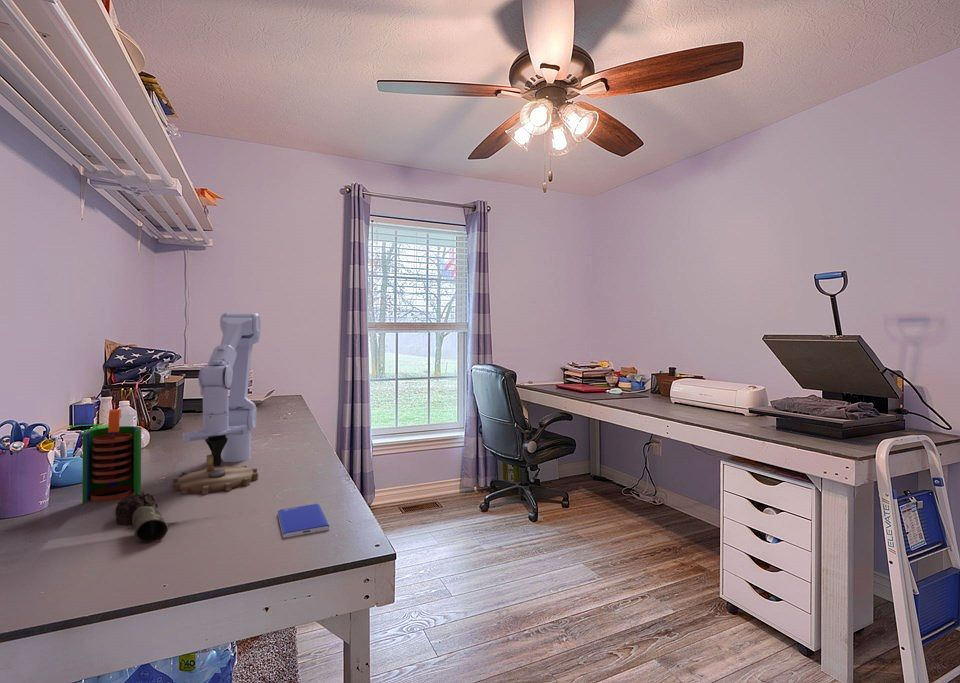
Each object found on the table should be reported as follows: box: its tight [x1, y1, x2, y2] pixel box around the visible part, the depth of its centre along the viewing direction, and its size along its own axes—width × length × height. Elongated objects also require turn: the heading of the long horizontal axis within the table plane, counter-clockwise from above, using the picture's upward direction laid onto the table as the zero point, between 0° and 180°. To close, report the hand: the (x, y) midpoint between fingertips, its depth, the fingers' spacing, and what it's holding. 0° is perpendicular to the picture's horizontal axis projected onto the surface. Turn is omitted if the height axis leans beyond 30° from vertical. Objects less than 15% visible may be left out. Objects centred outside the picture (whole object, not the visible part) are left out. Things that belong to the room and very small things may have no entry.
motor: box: [81, 408, 142, 506], centre depth 102 cm, size 10×9×20 cm
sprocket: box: [171, 454, 259, 495], centre depth 112 cm, size 18×18×6 cm
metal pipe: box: [114, 491, 169, 544], centre depth 87 cm, size 18×7×6 cm, turn 42°
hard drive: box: [277, 503, 330, 539], centre depth 91 cm, size 2×8×12 cm
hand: (216, 465), depth 117 cm, fingers closed, pressing on sprocket
